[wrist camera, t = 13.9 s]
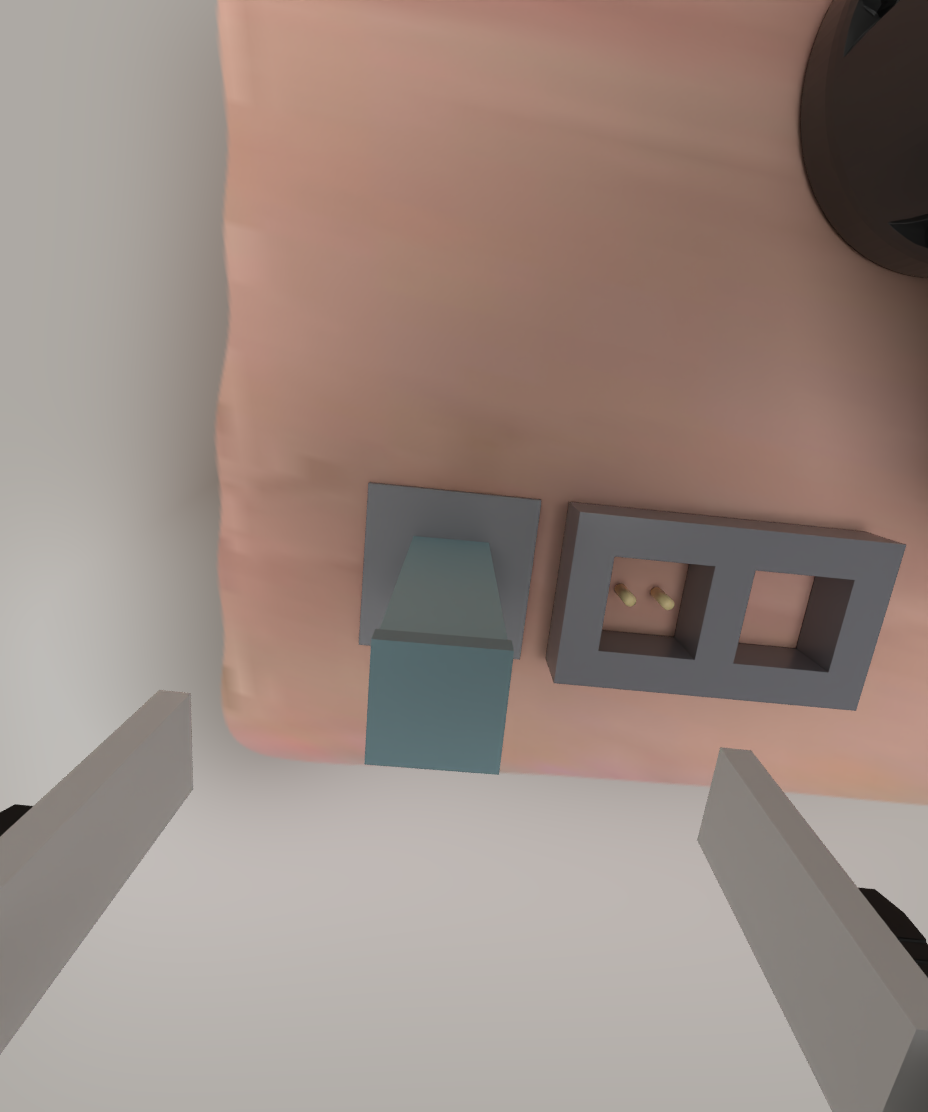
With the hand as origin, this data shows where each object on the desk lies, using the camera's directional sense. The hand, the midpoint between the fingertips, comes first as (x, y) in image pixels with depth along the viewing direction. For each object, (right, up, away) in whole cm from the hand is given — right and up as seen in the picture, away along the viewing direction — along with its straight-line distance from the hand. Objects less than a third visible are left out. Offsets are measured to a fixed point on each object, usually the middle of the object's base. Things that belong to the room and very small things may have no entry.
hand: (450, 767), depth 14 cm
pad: (-1, +4, +17) cm, 18 cm away
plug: (-1, +4, +17) cm, 17 cm away
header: (+13, +3, +18) cm, 22 cm away
